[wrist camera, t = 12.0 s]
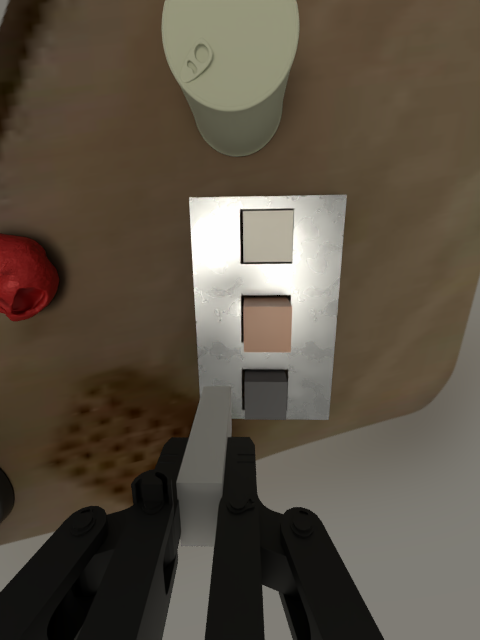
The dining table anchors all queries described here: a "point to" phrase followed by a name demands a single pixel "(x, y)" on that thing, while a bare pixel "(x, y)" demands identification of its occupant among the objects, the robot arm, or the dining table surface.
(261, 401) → the charcoal key
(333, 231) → the key panel
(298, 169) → the dining table surface
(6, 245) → the pomegranate
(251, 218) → the cream key
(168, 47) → the can
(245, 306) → the terracotta key
